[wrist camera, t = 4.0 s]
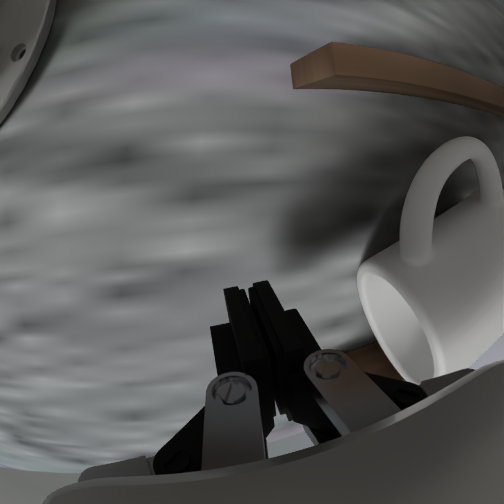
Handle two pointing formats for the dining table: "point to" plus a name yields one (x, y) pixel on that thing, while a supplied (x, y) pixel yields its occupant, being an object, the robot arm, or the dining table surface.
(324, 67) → the frame
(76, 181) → the dining table surface
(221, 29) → the dining table surface
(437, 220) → the mug
